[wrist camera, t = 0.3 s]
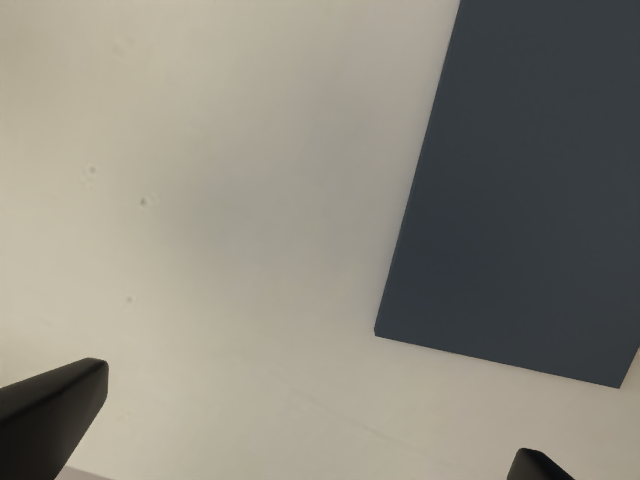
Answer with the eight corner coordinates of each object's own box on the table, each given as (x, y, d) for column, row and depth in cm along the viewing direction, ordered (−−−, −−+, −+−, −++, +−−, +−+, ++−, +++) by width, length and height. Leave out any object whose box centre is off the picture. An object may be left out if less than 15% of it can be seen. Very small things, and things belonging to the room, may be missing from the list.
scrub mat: (610, 380, 22) (619, 389, 21) (373, 329, 22) (374, 336, 22) (786, -2, 17) (807, -9, 16) (477, -63, 17) (483, -73, 17)
